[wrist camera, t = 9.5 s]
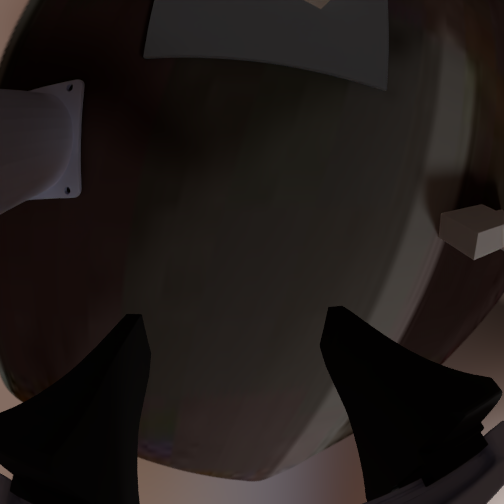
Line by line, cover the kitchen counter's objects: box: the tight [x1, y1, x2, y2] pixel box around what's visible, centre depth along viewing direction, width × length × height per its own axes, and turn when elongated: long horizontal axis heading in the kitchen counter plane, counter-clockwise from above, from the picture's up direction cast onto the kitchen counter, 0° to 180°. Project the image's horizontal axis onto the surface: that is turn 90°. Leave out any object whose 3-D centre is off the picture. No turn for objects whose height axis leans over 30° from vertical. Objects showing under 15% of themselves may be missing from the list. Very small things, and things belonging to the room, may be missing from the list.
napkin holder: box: [439, 204, 504, 260], centre depth 19 cm, size 15×11×6 cm
